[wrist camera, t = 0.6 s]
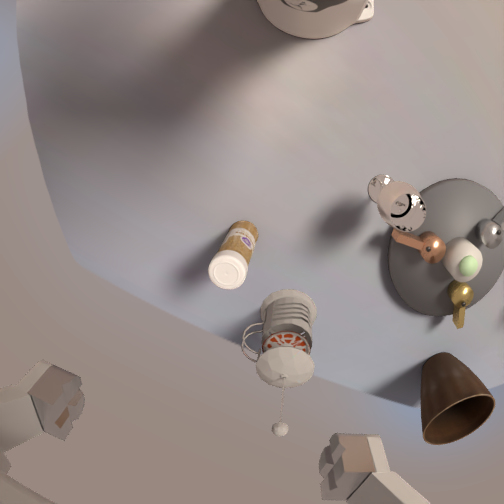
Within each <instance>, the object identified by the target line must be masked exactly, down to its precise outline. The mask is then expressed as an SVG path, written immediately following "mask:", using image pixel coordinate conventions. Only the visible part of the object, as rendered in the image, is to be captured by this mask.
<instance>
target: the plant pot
mask: <svg viewBox="0 0 504 504" xmlns="http://www.w3.org/2000/svg"><path fill="white" fill-rule="evenodd" d="M494 408H495V399H494V398H493V396H492V395H491V393H490V392H489V391H488V389H487V388H486V386H485V385H484V384H483V383H482V382H481V380H480V379H479V378H478V377H477V376H476V375H475V374H474V373H473V372H472V371H471V370H470V369H469V368H468V367H467V366H466V365H465V364H463V363H462V362H461V361H460V360H458V359H457V358H456V357H454V356H453V355H451V354H450V353H446V352H444V353H439V354H436V355H434V356H432V357H431V358H430V359H429V360H427V362H426V363H425V364H424V366H423V369H422V378H421V419H422V431H423V438H424V440H425V441H426V442H427V443H429V444H433V445H441V444H447V443H451V442H454V441H457V440H459V439H461V438H463V437H465V436H467V435H469V434H471V433H472V432H474V431H475V430H476V429H478V428H479V427H480V426H481V425H482V424H483V423H485V422H486V420H487V419H488V418H489V416H490V415H491V414H492V412H493V410H494Z"/></svg>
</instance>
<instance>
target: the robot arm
mask: <svg viewBox="0 0 504 504" xmlns="http://www.w3.org/2000/svg"><path fill="white" fill-rule="evenodd" d="M257 2H258V4H259V6H260V8H261V10H262V12H263V14H264V15H265V17H266V18H267V19H268V20H269V21H270V22H271V23H272V24H273V25H274V26H276V27H277V28H279V29H280V30H282V31H284V32H286V33H288V34H291V35H294V36H297V37H302V38H310V39H317V38H325V37H330V36H333V35H335V34H338V33H340V32H342V31H343V30H345V29H346V28H348V27H349V26H351V25H352V24H355V23H361V22H366V21H369V20H371V19H372V17H373V14H374V4H373V0H257ZM365 6H367V8H365ZM81 385H82V383H81V378H80V377H79V376H77V375H75V374H72V373H71V372H68V371H66V370H64V369H62V368H59V367H57V366H55V365H52V364H50V363H48V362H46V361H44V360H41V361H38V362H37V363H36V364H35V365H34V366H33V367H32V369H31V370H30V371H29V372H28V373H27V374H26V375H25V376H24V377H23V378H22V379H21V380H20V382H19V383H18V384H17V385H16V386H13V385H10V386H6V387H3V388H0V504H57V503H55V502H53V501H51V500H49V499H47V498H45V497H43V496H41V495H40V494H38V493H36V492H34V491H33V490H31V489H29V488H27V487H26V486H24V485H22V484H21V483H19V482H18V481H16V480H14V479H13V478H11V477H10V476H8V475H7V473H8V471H9V469H10V467H11V464H10V462H9V460H8V459H7V457H6V455H5V454H4V452H6V451H8V450H10V449H12V448H14V447H16V446H18V445H20V444H22V443H24V442H26V441H28V440H30V439H32V438H34V437H36V436H38V435H40V434H41V433H43V431H44V432H46V433H48V434H50V435H53V436H55V437H57V438H59V439H61V440H64V441H65V439H66V437H67V436H68V434H69V432H70V431H71V430H72V428H73V426H72V421H74V420H76V419H78V418H79V416H80V415H81V413H82V411H83V407H84V400H85V399H84V394H83V392H82V391H81V390H80V387H81ZM319 473H320V474H321V476H323V478H324V480H323V481H322V483H321V484H320V485H321V494H322V500H347V501H346V502H347V503H348V504H431V503H430V502H429V501H427V500H426V499H425V498H424V497H423V496H422V495H421V494H419V493H418V492H417V491H416V490H415V489H414V488H412V487H411V486H410V485H409V484H408V483H407V482H406V481H404V480H403V479H402V478H401V477H400V476H399V475H398V474H397V473H395V472H391V471H390V468H389V464H388V461H387V458H386V454H385V451H384V448H383V445H382V441H381V438H380V436H379V435H376V434H344V433H335V434H333V435H332V437H331V438H330V445H329V446H327V447H325V448H324V450H323V452H322V453H321V457H320V460H319Z"/></svg>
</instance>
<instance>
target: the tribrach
mask: <svg viewBox="0 0 504 504" xmlns="http://www.w3.org/2000/svg"><path fill="white" fill-rule="evenodd" d="M420 195H421V196H422V198H423V200H424V203H425V206H426V217H425V220H424V222H423V223H422V225H421V226H420V227H419V228H417V229H416V230H414V231H410V232H408V233H411V234H413V235H416V236H420V235H421V234H422V233H424V232H426V231H432V232H434V233H435V234H436V235H437V236H438V237H439V238H440V239H441V240H442V241H443V242H444V243H445V246H446V252H445V255H444V257H443V258H442V259H441V260H440V261H439V262H437V263H434V264H430V263H427V262H426V261H425V260H424V259H423V257H422V256H421V255H420V254H419V252H418V251H417V249H416V248H413V247H410V246H408V245H405V244H402V243H399V242H396V241H395V239H394V238H393V237H392V235H391V238H390V243H389V249H388V266H389V272H390V276H391V279H392V281H393V284H394V286H395V288H396V290H397V292H398V294H399V295H400V296H401V298H402V299H403V300H404V302H405V303H406V304H407V305H409V306H410V307H411V308H412V309H414V310H416V311H418V312H420V313H423V314H426V315H431V316H446V315H451V314H453V308H454V303H453V302H452V301H451V299H450V298H449V296H448V294H447V290H448V287H449V285H450V284H451V283H452V282H453V281H454V280H457V281H458V282H466V283H467V284H468V285H469V286H470V287H471V289H472V290H473V292H474V296H473V299H472V301H471V303H470V304H469V305H468V306H466V307H465V309H467V308H469V307H471V306H472V305H474V304H475V303H477V302H478V301H479V300H481V299H482V298H483V297H484V296H485V295H486V294H487V293H488V292H489V291H490V290H491V288H492V287H493V286H494V284H495V283H496V282H497V280H498V278H499V277H500V275H501V273H502V271H503V269H504V230H503V238H502V241H501V243H500V244H499V245H498V246H497V247H496V248H494V249H489V248H488V247H486V246H485V245H484V244H483V243H482V242H480V241H479V240H478V239H477V237H476V227H477V225H478V223H479V222H480V221H481V220H483V219H486V218H487V219H490V220H492V221H493V219H494V218H495V217H496V216H497V215H498V214H499V213H500V212H501V211H502V210H503V209H504V206H503V205H502V203H501V201H500V200H499V199H498V197H497V196H496V195H495V194H494V193H493V192H492V191H490V190H489V189H487V188H486V187H484V186H482V185H480V184H478V183H476V182H473V181H471V180H466V179H457V178H455V179H447V180H443V181H439V182H437V183H435V184H432V185H430V186H429V187H427V188H425V189H424V190H423V191H421V192H420Z"/></svg>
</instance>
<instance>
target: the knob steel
mask: <svg viewBox="0 0 504 504" xmlns="http://www.w3.org/2000/svg"><path fill="white" fill-rule="evenodd" d="M503 230H504V209H503V210H502V211H501V212H500V213H499V214H498V215H497V216H496V217H495V218H494V219H493V221H492V220H490V219H487V218H486V219H483V220H481V221H480V222H479V223H478V225H477V227H476V237H477V239H478V240H479V241H480V242H482V243H483V244H484V245H485V246H486V247H488V248H489V249H494V248H496V247H497V246H498V245H499V244H500V243H501V241H502V238H503Z"/></svg>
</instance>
